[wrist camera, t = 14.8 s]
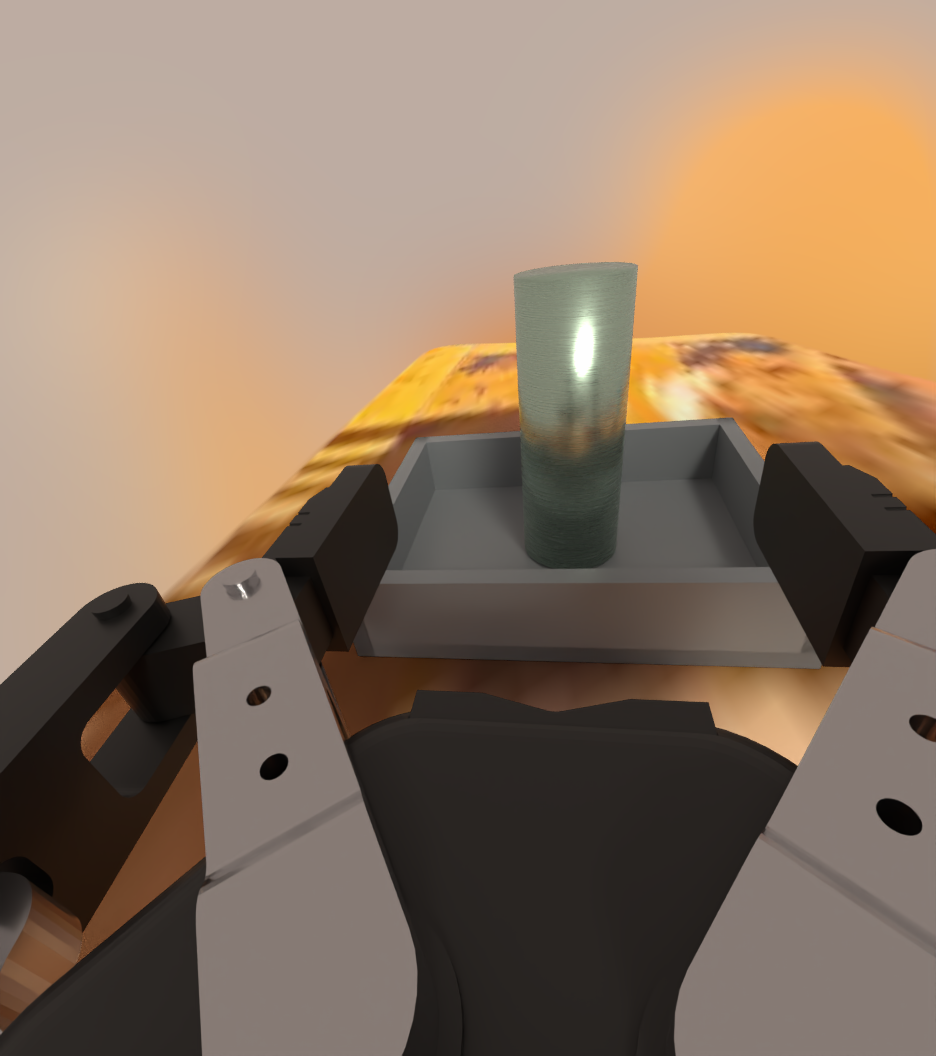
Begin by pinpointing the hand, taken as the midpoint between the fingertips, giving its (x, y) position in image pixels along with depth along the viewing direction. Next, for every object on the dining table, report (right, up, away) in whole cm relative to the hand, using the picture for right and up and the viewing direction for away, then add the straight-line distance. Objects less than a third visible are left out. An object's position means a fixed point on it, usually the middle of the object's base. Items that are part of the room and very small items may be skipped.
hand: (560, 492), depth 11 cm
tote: (+3, -2, +14) cm, 15 cm away
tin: (+3, -1, +14) cm, 14 cm away
